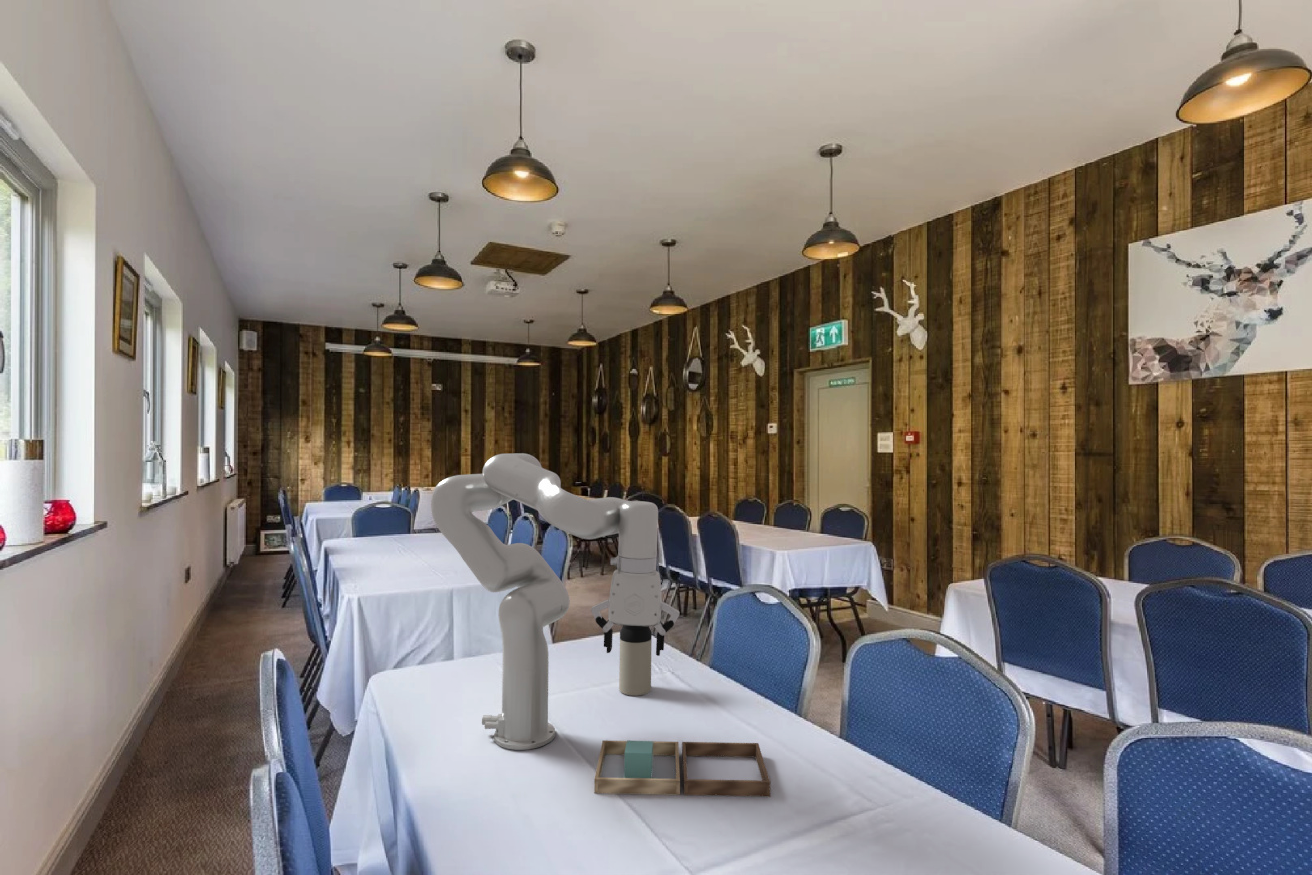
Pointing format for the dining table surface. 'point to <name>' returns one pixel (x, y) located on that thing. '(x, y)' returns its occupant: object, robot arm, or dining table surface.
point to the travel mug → (635, 660)
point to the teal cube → (638, 759)
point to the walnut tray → (725, 785)
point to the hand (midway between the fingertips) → (633, 652)
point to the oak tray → (637, 783)
